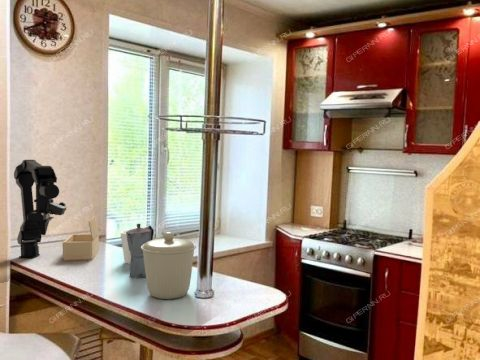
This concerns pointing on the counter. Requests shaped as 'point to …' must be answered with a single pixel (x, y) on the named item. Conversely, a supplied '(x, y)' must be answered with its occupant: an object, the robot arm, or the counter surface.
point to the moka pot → (138, 249)
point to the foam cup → (125, 247)
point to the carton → (80, 247)
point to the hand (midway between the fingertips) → (43, 235)
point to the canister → (168, 266)
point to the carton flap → (93, 227)
